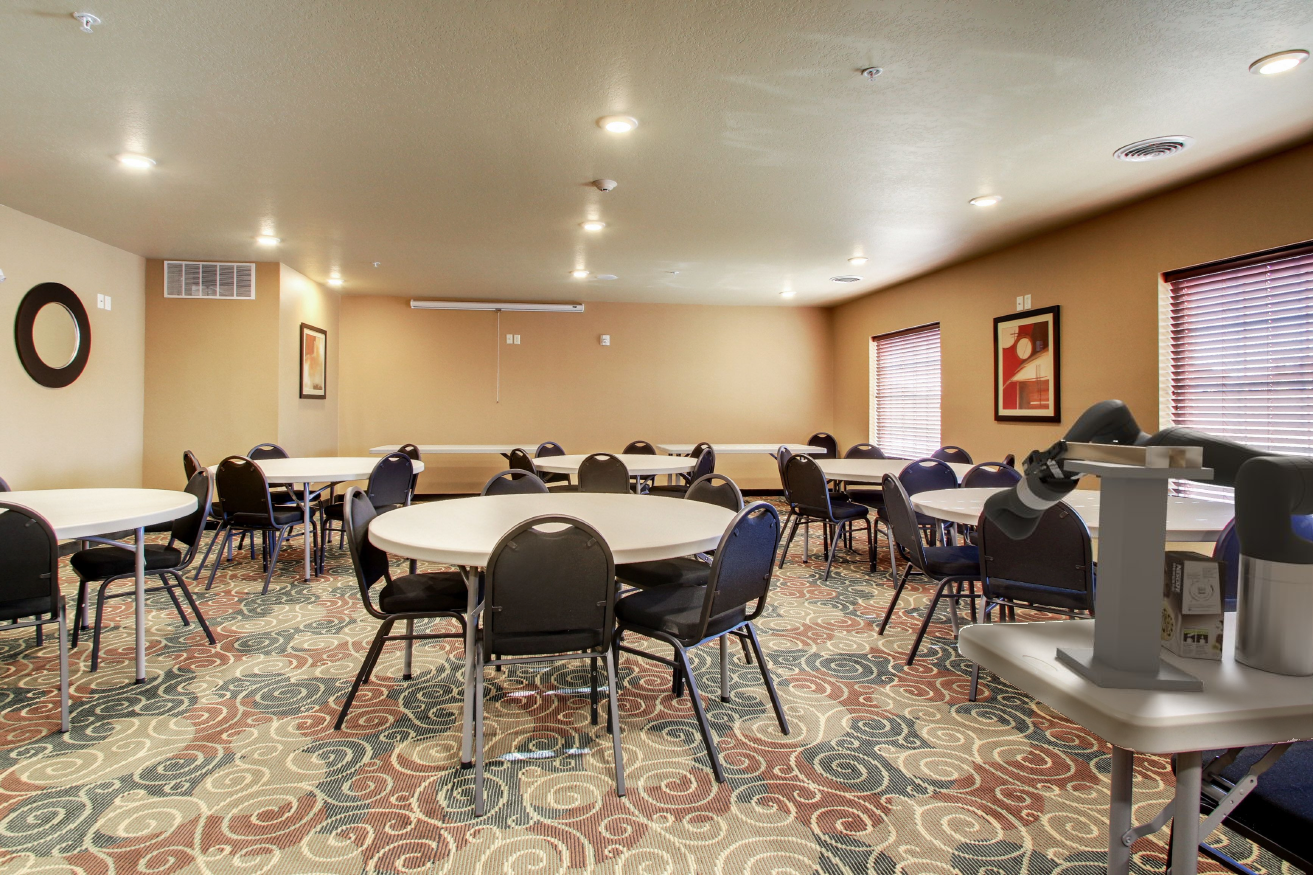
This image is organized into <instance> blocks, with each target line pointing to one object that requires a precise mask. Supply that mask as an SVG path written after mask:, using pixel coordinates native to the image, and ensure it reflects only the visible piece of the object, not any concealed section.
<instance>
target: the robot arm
mask: <svg viewBox="0 0 1313 875" xmlns="http://www.w3.org/2000/svg"><path fill="white" fill-rule="evenodd" d="M1056 442H1057V443H1056ZM1056 442H1055V443H1053V444H1052V445H1051V446H1050V447H1049V448H1045V449H1043V451H1040V450H1039V449H1033V450H1032V451H1031V452H1030V453H1028V455H1027V457H1026V458H1025V459H1024V460H1023V461H1022V462H1021V466H1022V470H1023V476H1022V477H1021V478H1020V480H1019V481H1018V482H1016V484H1015V485H1014V486H1013V487H1011V488H1006V489H1003V490H1000V491H998V492H995V493H994V494H991V495H990V496H989V497H988V498H987V499H986V500H985V502H984V503H983V506H982V507H983V513H984V515H985V517H987V519H989V521H991V522H992V523H993V524H994V525H995V526H996V527H998V528H999V529H1000V530H1001V532H1003V533H1004V534H1005V535H1006V536H1007V537H1009V538H1010V539H1012V540H1016V541H1018V540H1023V539H1026V538H1028V537H1029V536H1030V535H1032V533H1033V532H1034V531H1035V529H1036V528H1037V526H1038V524H1039V522H1040V520H1041V518H1042V516H1043V515H1044V512H1046V510H1048V509H1049V508H1051V507H1052V506H1054V505H1056V504H1058V503H1059V502H1060V501H1062V500H1063V499H1064V498H1065V497H1066V496H1068V495H1069V494H1070V493H1071V492H1073V491H1074V490H1075V489H1076V488H1077V486H1078V485H1079V482H1080V480H1081V478H1082V477H1083V478H1084V477H1086V476H1088V475H1089V474H1086V473H1080V472H1074V471H1068V470H1064V461H1086V460H1082V459H1072V458H1062V456H1063V455H1064V454H1065V453H1066V452H1067V451H1068V447H1067V444H1066V442H1074V443H1089V444H1104V445H1119V446H1134V447H1146V446H1155V447H1203V455H1202V468H1210V469H1214V478H1213V480H1210V479H1184V480H1186V481H1190V482H1193V483H1194V482H1195V483H1199V484H1206V485H1209V486H1210V485H1212V486H1218V487H1223V488H1224V487H1226V488H1232V489H1233V488H1234V490H1233V491H1234V492H1233V497H1234V498H1233V499H1234V500H1233V501H1234V530H1235V531H1234V532H1235V535H1236V538H1237V541H1238V544H1239V554H1238V555H1239V557H1238V558H1239V560H1238V580H1237V598H1236V611H1235V612H1236V615H1235V616H1236V617H1235V634H1234V635H1235V636H1234V651H1233V652H1234V653H1233V655H1234V656H1233V658H1234V659H1235V660H1236V661H1238V662H1240V663H1241V664H1244V665H1245V666H1249V667H1252V668H1255V669H1259V670H1263V671H1266V672H1271V673H1276V674H1281V675H1288V676H1301V677H1303V676H1311V675H1313V541H1311V540H1309V539H1306V538H1304V537H1302V536H1300V535H1298V534H1297V533H1296V532H1295V531H1294V529H1293V526H1292V524H1293V523H1292V522H1293V521H1292V516H1295V517H1296V516H1300V517H1301V516H1304V517H1305V516H1312V515H1313V458H1312V457H1306V456H1298V455H1297V456H1296V455H1291V454H1290V455H1289V454H1284V453H1278V452H1272V451H1268V450H1267V451H1266V450H1262V449H1259V448H1255V447H1252V446H1249V445H1246V444H1242V443H1239V442H1236V441H1232V440H1230V439H1227V438H1223V437H1220V436H1216V435H1213V434H1210V433H1207V432H1204V431H1199V430H1195V429H1192V428H1188V427H1185V426H1173V427H1168V428H1164V429H1162V430H1159V431H1157V432H1156V433H1154V434H1152V435H1151V434H1149V433H1146V432H1144V431H1143V430H1142V429H1141V428H1140V426H1139V425H1138V423H1137V421H1136V420H1135V418H1134V416H1133V414H1132V412H1131V410H1130V409H1129V408H1128V406H1127V405H1126V404H1125V403H1124V402H1123V401H1121V399H1120V400H1119V399H1106V400H1102V401H1099V402H1097V403H1095V404H1093V405H1091V406H1090V407H1088V409H1086V410H1085V411H1084V412H1082V414H1081V415H1080V416H1079V417H1078V419H1077V420H1076V421H1075V422H1074V424H1073V425H1072V426H1071V428H1070V429H1069V430H1068V431H1067V432H1066V434H1065V435H1064V436H1063V438H1061V439H1059V440H1058V441H1056ZM1088 461H1092V460H1088ZM1095 476H1096V478H1097V479H1101V476H1098V475H1095Z"/></svg>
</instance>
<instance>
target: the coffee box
mask: <svg viewBox="0 0 1313 875" xmlns="http://www.w3.org/2000/svg"><path fill="white" fill-rule="evenodd" d="M1227 568H1228V561H1225V560H1222V559H1218V558H1216V557H1211V556H1210V555H1207V554H1203V553H1200V552H1196V551H1190V550H1165V563H1164V584H1163V606H1162V627H1161V646H1162V645H1163V646H1162V647H1164V648H1166V649H1167V650H1169V651H1170V652H1172V653H1173V654H1175V655H1178V656H1179V657H1182V658H1192V659H1193V658H1194V659H1205V660H1215V661H1222V659H1223V650H1224V649H1223V647H1224V646H1223V644H1224V632H1225V629H1224V628H1225V613H1226V612H1225V609H1226V591H1227V590H1226V589H1227V572H1228V571H1227V570H1228V569H1227Z"/></svg>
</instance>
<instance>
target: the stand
mask: <svg viewBox="0 0 1313 875" xmlns="http://www.w3.org/2000/svg"><path fill="white" fill-rule="evenodd" d="M1064 470H1068V471H1074V472H1080V473H1086V474H1088V475H1093V476H1096V475H1098V476H1101V478H1100V487H1099V488H1100V489H1099V511H1098V512H1099V513H1098V514H1099V517H1098V534H1097V535H1098V537H1097V554H1096V556H1097V558H1096V576H1095V577H1096V579H1095V580H1096V583H1095V584H1096V585H1095V602H1094V603H1095V606H1094V607H1095V609H1094V623H1093V624H1094V626H1093V627H1094V628H1093V648H1090V647H1089V648H1087V647H1086V648H1085V647H1064V646H1063V647H1059V646H1056V650H1055V651H1056V654H1055V655H1056V656H1055V657H1056V658H1058V659H1059V660H1061V661H1063V662H1064V663H1065V664H1066V665H1068V666H1070V667H1071V668H1072V669H1074V670H1075V671H1077V672H1078V673H1079V674H1081V675H1082V676H1084V677H1085V678H1087V679H1088V680H1090V681H1091V682H1092V683H1094V684H1095V685H1097V686H1098V687H1100V688H1111V689H1113V688H1114V689H1115V688H1116V689H1133V690H1134V689H1136V690H1138V689H1139V690H1153V691H1154V690H1156V691H1159V690H1160V691H1181V692H1202V693H1203V692H1204V680H1202V679H1200V678H1198V677H1197V676H1194V675H1192V674H1190V673H1189V672H1187V671H1185V670H1183V669H1181V668H1180V667H1178V666H1176V665H1174V664H1172V663H1170V662H1169V661H1167V660H1165V659H1163V658H1161V649H1162V648H1161V646H1162V645H1161V627H1162V606H1163V584H1164V563H1165V551H1166V539H1167V538H1166V537H1167V521H1168V520H1167V517H1168V498H1169V497H1168V495H1169V480H1170V479H1173V480H1174V479H1175V480H1185V479H1210V480H1213V478H1214V469H1210V468H1146V467H1145V466H1142V465H1132V464H1122V463H1112V462H1102V461H1089V460H1085V461H1064Z"/></svg>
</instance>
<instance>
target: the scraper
mask: <svg viewBox="0 0 1313 875" xmlns="http://www.w3.org/2000/svg"><path fill="white" fill-rule="evenodd" d="M1057 442H1058V441H1056V442H1055V443H1057ZM1066 444H1067V447H1068V451H1067V452H1066V453H1065V454H1064V455H1063V456H1062V458H1072V459H1082V460H1085V461H1089V460H1092V461H1102V462H1112V463H1122V464H1132V465H1142V466H1145V467H1146V468H1202V455H1203V447H1155V446H1146V447H1134V446H1119V445H1104V444H1092V443H1074V442H1066Z"/></svg>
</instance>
